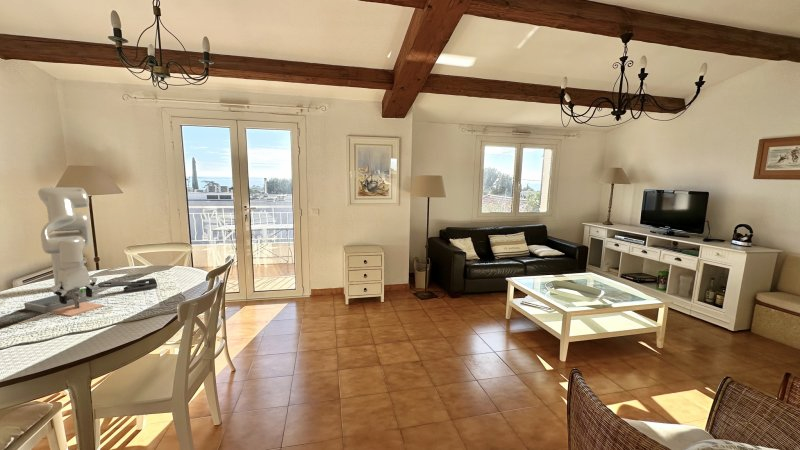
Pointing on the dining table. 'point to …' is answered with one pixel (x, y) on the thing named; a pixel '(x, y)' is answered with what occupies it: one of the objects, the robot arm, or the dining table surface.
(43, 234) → the robot arm
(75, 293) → the mechanical component
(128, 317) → the dining table surface
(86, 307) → the rubber mat
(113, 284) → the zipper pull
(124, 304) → the dining table surface
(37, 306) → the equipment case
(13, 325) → the dining table surface
